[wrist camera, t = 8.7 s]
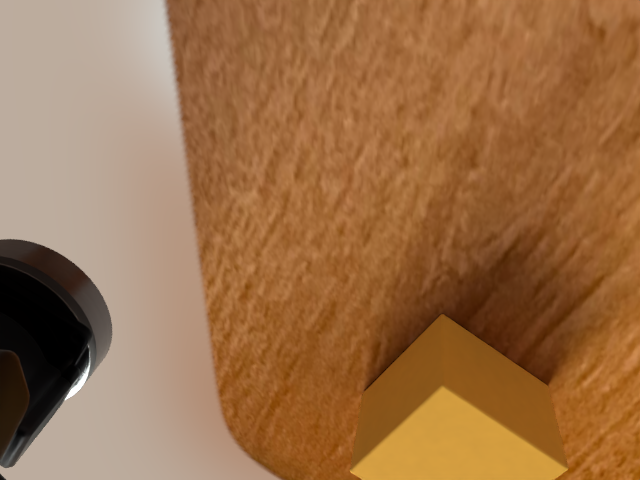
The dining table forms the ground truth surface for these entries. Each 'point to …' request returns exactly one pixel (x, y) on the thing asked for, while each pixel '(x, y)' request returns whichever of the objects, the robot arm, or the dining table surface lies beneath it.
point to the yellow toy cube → (456, 415)
